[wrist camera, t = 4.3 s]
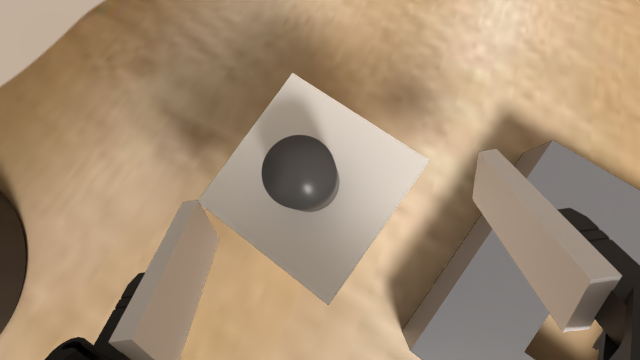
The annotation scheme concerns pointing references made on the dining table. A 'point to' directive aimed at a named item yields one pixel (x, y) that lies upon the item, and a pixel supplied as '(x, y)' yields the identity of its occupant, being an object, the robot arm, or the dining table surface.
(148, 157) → the dining table surface
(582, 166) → the socket plate
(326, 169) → the plug
